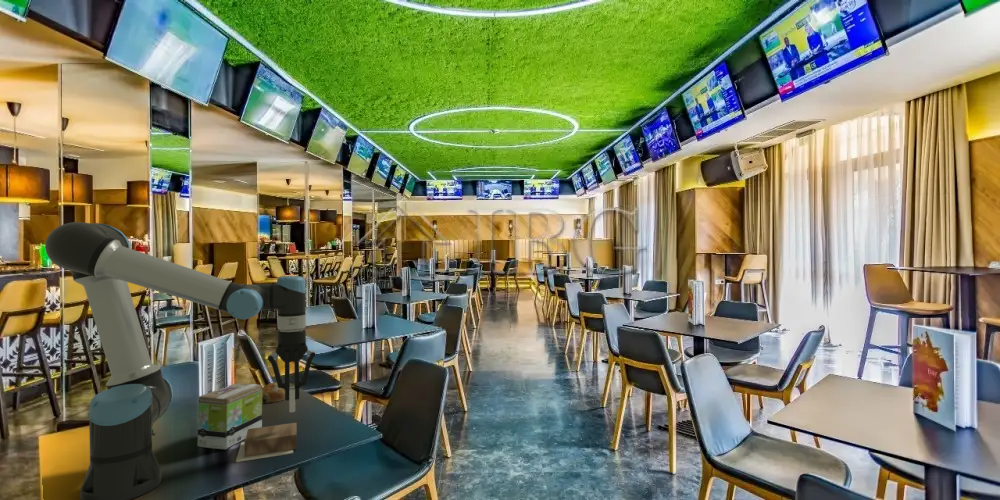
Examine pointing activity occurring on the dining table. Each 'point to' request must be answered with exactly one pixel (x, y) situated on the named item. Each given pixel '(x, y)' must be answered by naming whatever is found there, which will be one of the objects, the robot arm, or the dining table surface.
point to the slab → (271, 439)
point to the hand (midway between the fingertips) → (292, 410)
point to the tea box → (228, 415)
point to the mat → (242, 454)
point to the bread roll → (272, 393)
